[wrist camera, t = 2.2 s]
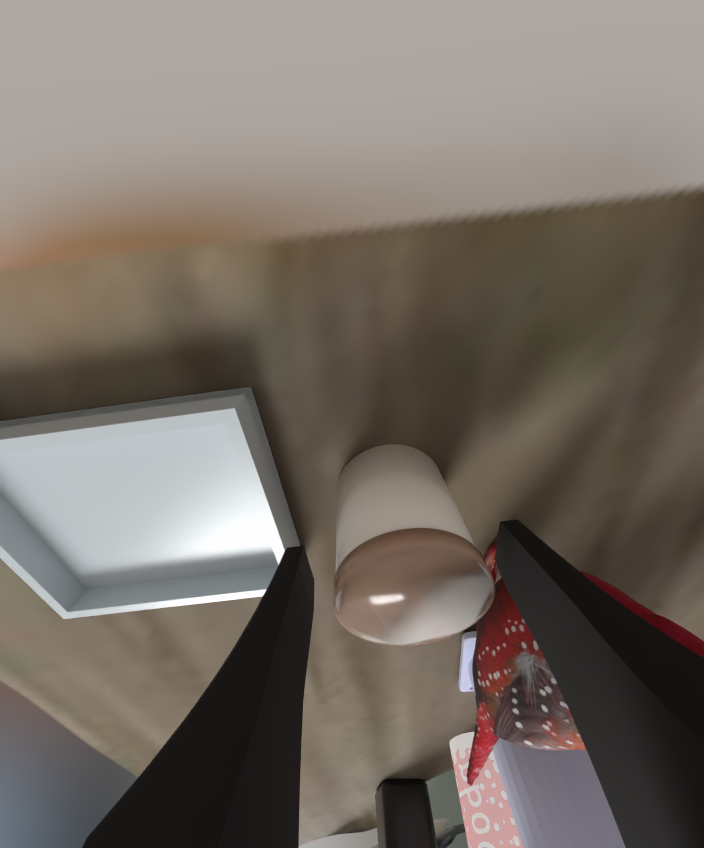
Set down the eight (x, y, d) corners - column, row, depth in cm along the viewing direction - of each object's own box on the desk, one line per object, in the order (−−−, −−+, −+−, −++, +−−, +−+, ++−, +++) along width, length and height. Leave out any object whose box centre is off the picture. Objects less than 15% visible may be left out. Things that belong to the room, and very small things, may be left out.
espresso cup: (442, 436, 13) (504, 537, 8) (441, 520, 15) (488, 637, 10) (327, 451, 13) (320, 559, 8) (344, 532, 16) (345, 652, 11)
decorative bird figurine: (569, 458, 14) (1001, 796, 5) (449, 654, 22) (536, 914, 13) (514, 453, 13) (887, 816, 5) (412, 655, 21) (477, 926, 13)
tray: (251, 386, 12) (234, 408, 10) (303, 556, 16) (299, 592, 14) (-41, 426, 12) (-108, 454, 10) (93, 581, 17) (63, 619, 15)
